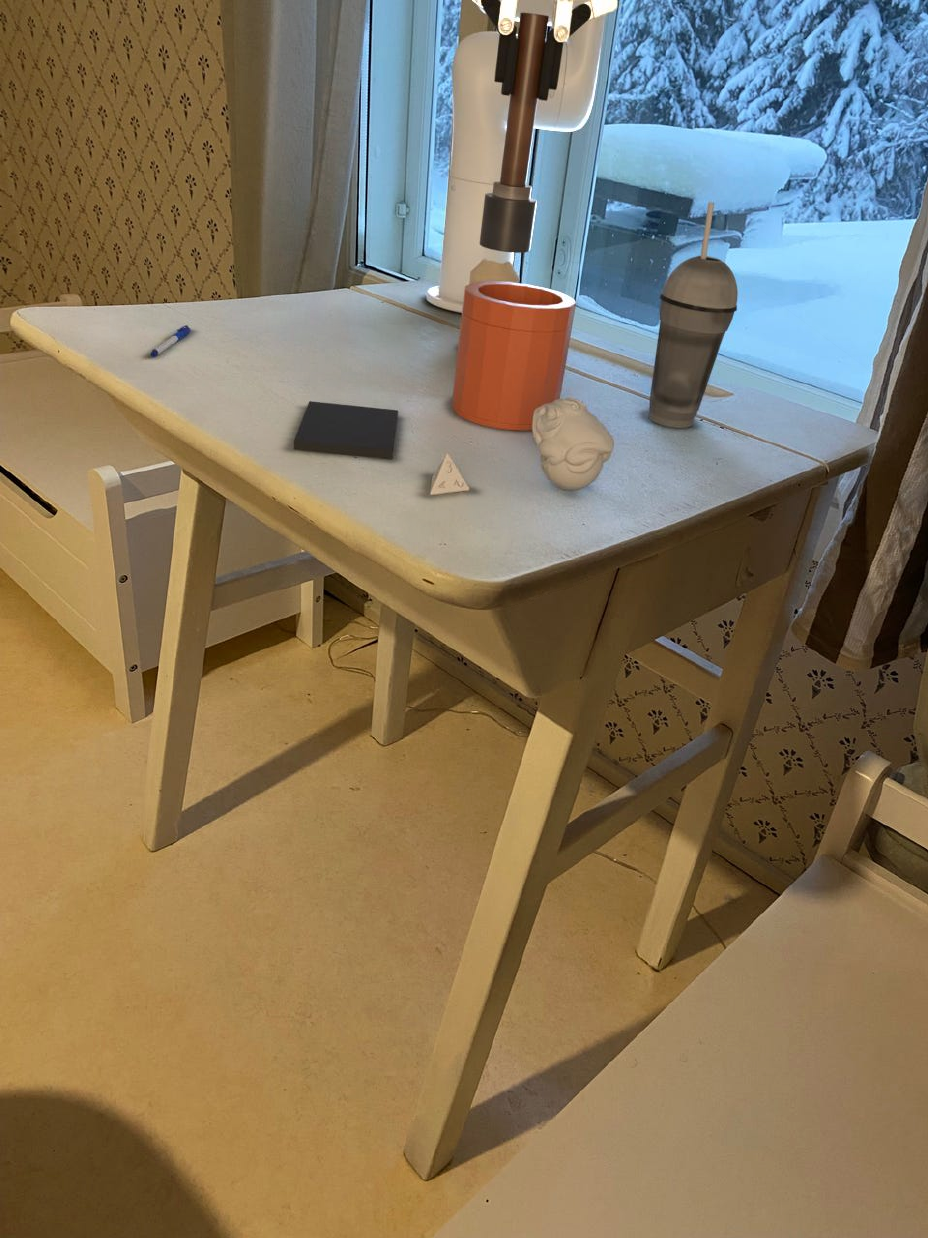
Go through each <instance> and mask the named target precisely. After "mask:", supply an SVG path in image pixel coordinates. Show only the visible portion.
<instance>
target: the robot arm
mask: <svg viewBox="0 0 928 1238" xmlns="http://www.w3.org/2000/svg"><path fill="white" fill-rule="evenodd" d="M471 1H472V2H473V3H475V4H476V6H477V7H478V9H479V10H480V11H481V12H482V13H484V14H486V16H487V17H488V19H489V21H490V22H491V24H492V25H493V27H494V28H495V29H496V31H492V30H491V31H490V30H486V31H478V32H473V33H471V34H469V35H467V36H465V37H464V38H463V39H462V40H461V41H460V42H459V44H457V47H456V49H455V51H454V55H453V59H452V69H451V86H452V88H451V89H452V138H451V139H452V140H451V157H450V167H449V177H448V187H447V198H446V200H447V201H446V206H445V207H446V209H445V220H444V227H443V239H442V249H441V260H440V271H439V281H438V285H436V286H433V287H430V288H428V289H427V291H426V301H428V303H430V304H431V305H433V306H435V307H438V308H441V309H443V310H446V311H451V312H455V313H461V314H462V309H463V300H464V290H465V286H466V285H469V280H470V272H471V271H472V270H473V269H474V268H475V267H476V266H477V265H478V264H479V263H480V262H481V261H482V260H483V259H486V260H488V261H495V262H497V263H501V264H503V263H505V262H509V263H511V264H512V266H513V265H514V264H513V263H514V256H515V253H512V252H503V251H497V250H492V249H488V248H485V247H483V246H481V245H480V235H481V226H482V218H483V209H484V200H485V194H487V193H493V185H494V182H496V181H500V177H501V169H502V160H503V152H504V144H505V136H506V128H507V119H508V111H509V103H510V95H511V94H512V91H513V83H514V75H515V67H516V59H517V51H518V43H519V39H517V38H518V28H517V25H516V24H515V22H519V21H520V13H532V14H539V15H545V16H548V17H549V19H548V26H547V27H550V30H549V31H547V34H546V41H545V45H544V53H543V60H542V68H541V75H540V83H539V90H538V100H537V107H536V115H535V122H534V129H539V130H546V131H547V130H548V131H556V132H575V131H578V130H580V129H582V127H584V126H585V124H586V123H587V121H588V119H589V116H590V114H591V112H592V107H593V103H594V99H595V93H596V87H597V80H598V73H599V66H600V60H601V52H602V46H603V39H604V32H605V24H606V18H607V15H608V14H610V13H614V12H615V11H616V10H617V9H618V6H619V0H471Z"/></svg>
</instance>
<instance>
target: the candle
mask: <svg viewBox="0 0 928 1238" xmlns="http://www.w3.org/2000/svg"><path fill="white" fill-rule="evenodd" d="M520 279H521V277H520V276H519V274H518V273H517V271H516V270H515V268H514V266H513V265H512V264H511V263H509V262H505V263H503V264H501V263H497V262H495V261H488V260H486V259H483V260H482V261H481V262H480V263H479V264H478V265H477V266H476V267H475V268H474V269H473V270H472V271H471V272H470V280H469V284H471V283H474V282H484V281H498V282H512V283H520Z"/></svg>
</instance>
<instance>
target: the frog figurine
mask: <svg viewBox="0 0 928 1238" xmlns="http://www.w3.org/2000/svg"><path fill="white" fill-rule="evenodd" d="M531 431H532V436H533V439H534V444H536V445H538V446H537V450H538V453H539V455H540V466H541V469H542V472H543V474H544V476H545V477H546V478H547V479H548V481H549V482H550V483H551V484H553V485H554V486H556V487H558V488H559V489H563V490H567V491H576V490H581V489H584V488H585V487H588V486H589V485H591V484H592V483H594V482H595V481H596V479H598V477H599V475H600V474H601V472H602V470H603V468H604V467H603V466H604V465H605V464H604V463H606V462H608V461H609V459H610V458H611V456H612V453H613V450H614V446H615V441H614V438H613V436H612V435H611V433H610V432H609V431H608V429H607V427H606V426H605V425H604V423H603V422H601V420H599V419H598V417H597V416H596V415H595V414H594V413H592V412H591V411H589V410H588V409H587V405H586V404H585V403H584V402H583V401H580V400H579V399H577V398H575V397H564V398H560V399H557V400H555V401H553V402H552V403H548V404H544V405H543V406H541V407H538V408H537V409H535V411H534V414H533V422H532V430H531Z"/></svg>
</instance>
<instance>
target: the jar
mask: <svg viewBox="0 0 928 1238" xmlns="http://www.w3.org/2000/svg"><path fill="white" fill-rule="evenodd" d="M576 307H577V302H576V301H575V298H573V297H571V296H569V295H568V294H565V293H563V292H561V291H558V290H554V289H551V288H548V287H543V286H537V285H534V284H529V283H528V284H527V283H521V282H519V283H512V282H498V281H484V282H474V283H471V284H469V285H466V286H465V290H464V300H463V309H462V313H461V320H460V329H459V338H458V345H457V346H458V347H457V355H456V366H455V371H454V372H455V374H454V382H453V392H452V404H451V407H452V410H453V412H455V414H456V415H458V416H459V417H461V418H463V419H464V420H466V421H469V422H471V423H474V424H477V425H480V426H484V427H488V428H492V429H499V430H505V431H523V432H524V431H532V422H533V414H534V411H535V409H537V408H538V407H541V406H543V405H544V404H548V403H552V402H553V401H555V400H557V399H561V395H562V390H563V389H562V388H563V383H564V377H565V371H566V366H567V360H568V353H569V348H570V342H571V335H572V330H573V324H574V318H575V312H576Z"/></svg>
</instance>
